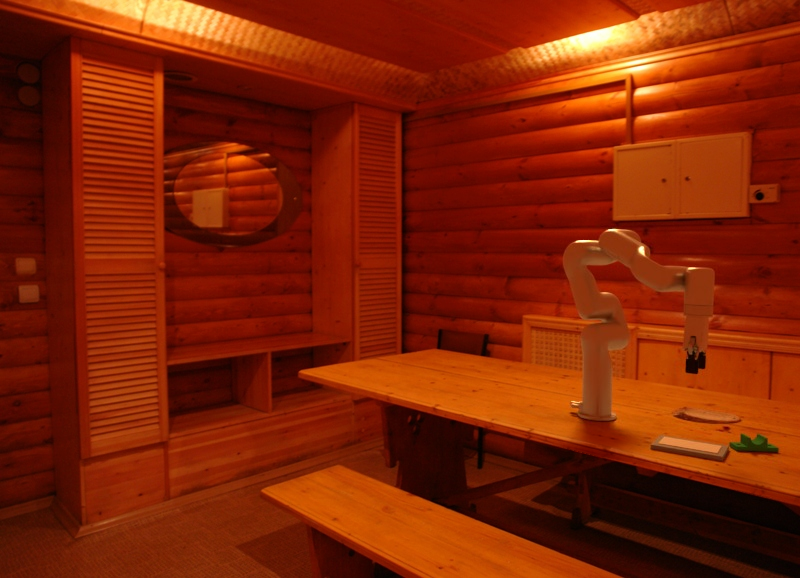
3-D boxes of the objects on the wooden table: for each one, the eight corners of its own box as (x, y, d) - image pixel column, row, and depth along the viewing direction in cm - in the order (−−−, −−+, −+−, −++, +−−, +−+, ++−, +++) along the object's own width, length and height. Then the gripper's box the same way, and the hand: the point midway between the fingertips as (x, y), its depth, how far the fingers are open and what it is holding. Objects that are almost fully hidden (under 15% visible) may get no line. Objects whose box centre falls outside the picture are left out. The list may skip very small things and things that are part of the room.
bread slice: (747, 424, 198) (748, 413, 198) (711, 431, 190) (711, 419, 190) (699, 412, 214) (699, 402, 214) (663, 418, 206) (663, 407, 206)
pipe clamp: (770, 434, 172) (779, 438, 167) (770, 447, 172) (778, 452, 167) (729, 432, 173) (737, 437, 168) (729, 445, 173) (736, 450, 168)
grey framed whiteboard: (650, 448, 170) (650, 443, 170) (660, 438, 180) (660, 434, 180) (722, 461, 160) (722, 455, 159) (728, 450, 169) (728, 445, 169)
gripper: (690, 308, 180) (688, 365, 181) (676, 312, 166) (673, 373, 167) (718, 310, 176) (715, 368, 177) (706, 314, 162) (703, 377, 163)
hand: (695, 370), depth 172 cm, fingers open, 9 cm apart
